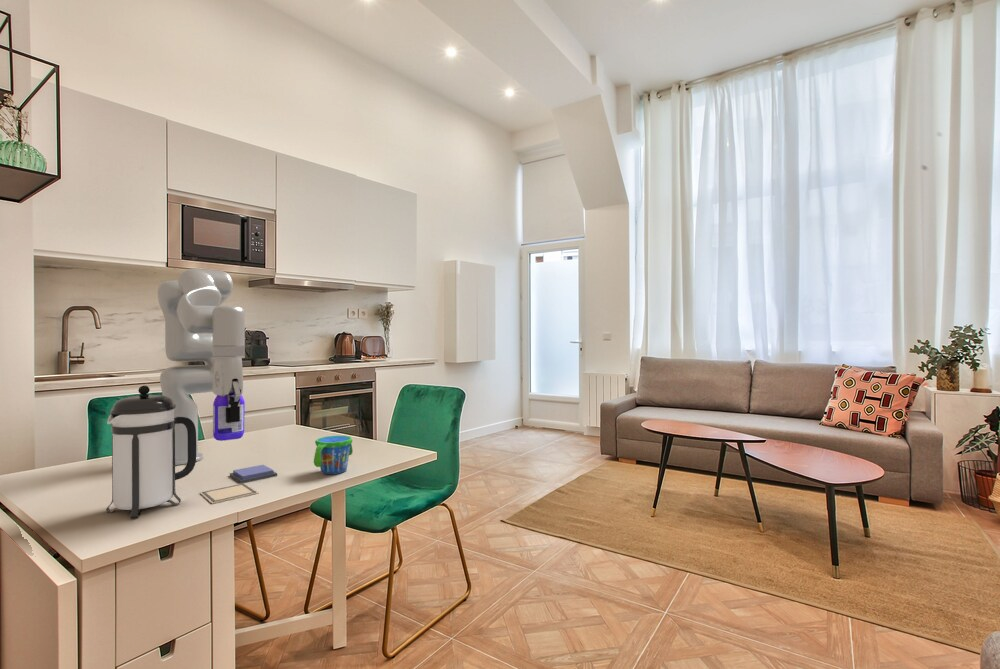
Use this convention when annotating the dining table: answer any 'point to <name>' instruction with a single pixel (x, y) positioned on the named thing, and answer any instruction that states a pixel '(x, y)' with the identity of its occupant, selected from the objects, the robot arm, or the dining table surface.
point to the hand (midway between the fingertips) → (229, 419)
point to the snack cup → (333, 453)
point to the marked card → (228, 493)
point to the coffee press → (146, 451)
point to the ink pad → (252, 473)
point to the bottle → (220, 426)
